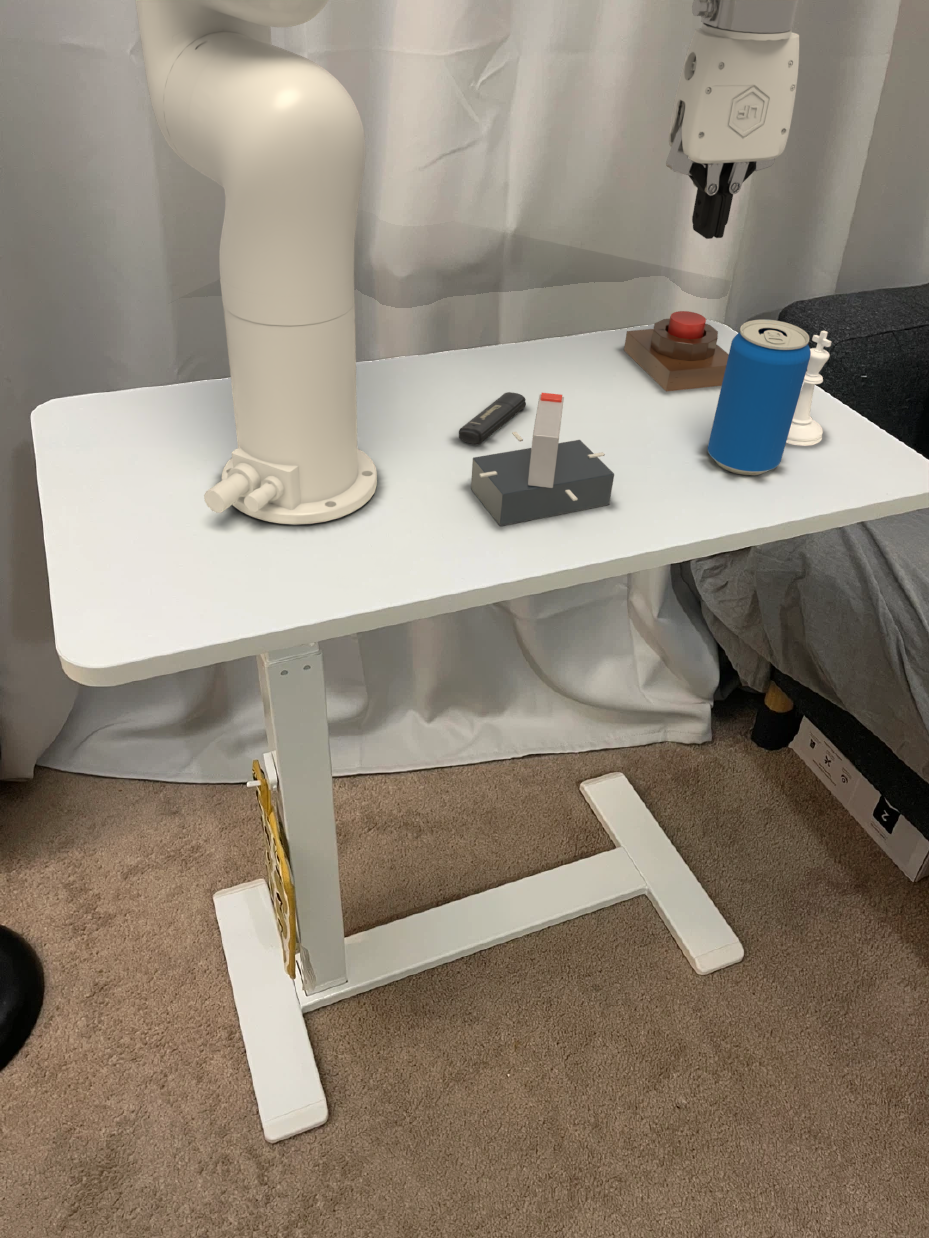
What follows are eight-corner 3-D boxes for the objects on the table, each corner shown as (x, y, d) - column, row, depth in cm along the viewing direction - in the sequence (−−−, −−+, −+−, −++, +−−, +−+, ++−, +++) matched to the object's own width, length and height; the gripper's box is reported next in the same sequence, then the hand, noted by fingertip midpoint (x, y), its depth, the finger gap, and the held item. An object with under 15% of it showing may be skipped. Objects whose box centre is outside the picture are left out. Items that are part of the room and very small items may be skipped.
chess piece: (791, 416, 97) (819, 316, 91) (832, 437, 94) (864, 336, 88) (757, 428, 95) (784, 327, 88) (798, 451, 92) (829, 348, 85)
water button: (709, 340, 101) (712, 323, 100) (677, 343, 100) (680, 326, 99) (692, 326, 104) (695, 309, 103) (661, 328, 103) (664, 312, 102)
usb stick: (503, 402, 96) (505, 387, 95) (528, 409, 95) (529, 394, 94) (454, 441, 90) (455, 426, 89) (480, 449, 89) (481, 434, 88)
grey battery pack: (552, 488, 79) (559, 434, 76) (527, 485, 79) (533, 431, 76) (558, 445, 84) (564, 393, 81) (534, 442, 84) (539, 391, 81)
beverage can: (773, 446, 92) (807, 321, 84) (783, 483, 87) (821, 353, 79) (702, 440, 92) (730, 314, 85) (709, 476, 87) (739, 345, 80)
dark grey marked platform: (506, 545, 77) (510, 511, 75) (451, 474, 85) (453, 441, 83) (631, 520, 81) (638, 486, 79) (568, 454, 89) (572, 422, 87)
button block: (736, 384, 102) (745, 347, 99) (666, 392, 100) (673, 354, 97) (689, 344, 109) (697, 309, 107) (623, 350, 107) (629, 314, 105)
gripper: (691, 22, 80) (654, 253, 91) (850, 20, 84) (795, 242, 95) (649, 6, 85) (620, 226, 97) (801, 5, 89) (754, 216, 101)
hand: (707, 233), depth 96 cm, fingers closed
